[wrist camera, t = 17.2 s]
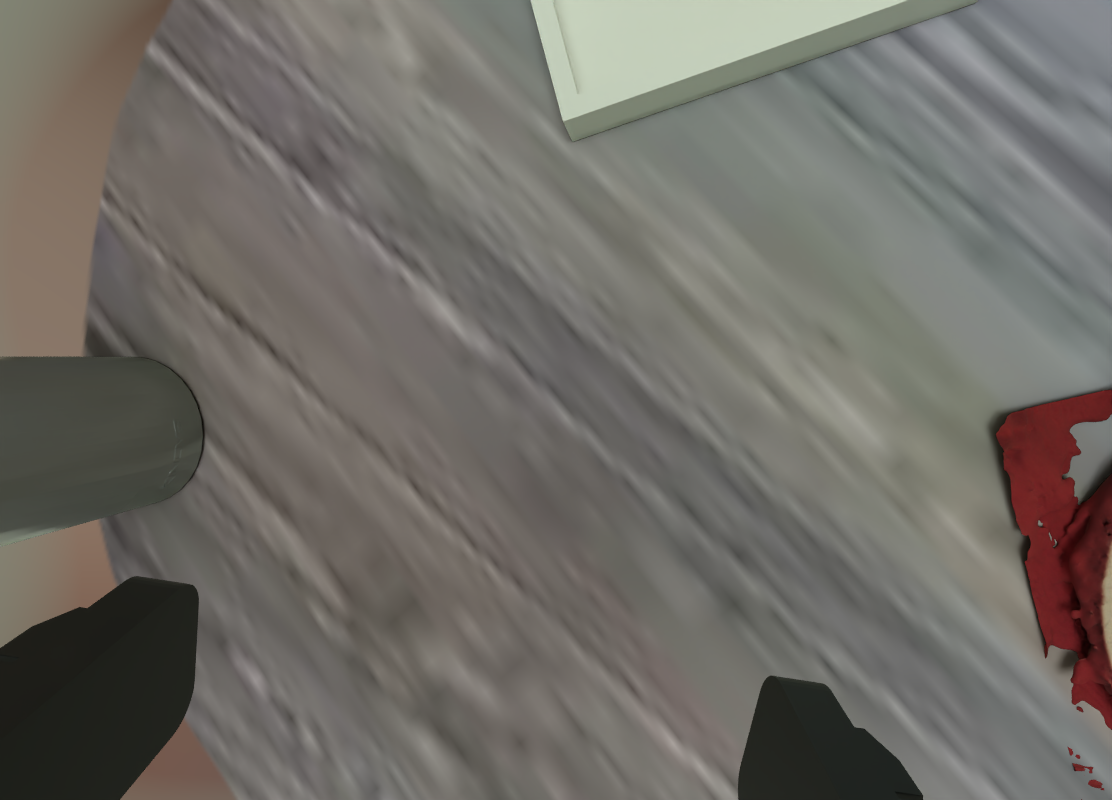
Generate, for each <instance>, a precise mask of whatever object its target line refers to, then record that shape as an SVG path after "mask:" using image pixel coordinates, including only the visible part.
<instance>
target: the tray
mask: <svg viewBox="0 0 1112 800" xmlns="http://www.w3.org/2000/svg"><path fill="white" fill-rule="evenodd" d="M977 1H978V0H531V4H532V8H533V11H534V15H535V19H536V22H537V26H538V30H539V34H540V37H541V41H542V45H543V49H544V52H545V56H546V60H547V63H548V67H549V71H550V75H551V78H552V82H553V86H554V89H555V93H556V97H557V101H558V104H559V108H560V112H561V116H562V119H563V122H564V125H565V127H566V129H567V131H568V133H569V136H570V138H571V140H572V142H574V141H577V140H580V139H583V138H586V137H588V136H591V135H594V134H597V133H600V132H603V131H606V130H609V129H612V128H615V127H617V126H620V125H623V124H626V123H629V122H632V121H635V120H638V119H641V118H644V117H646V116H649V115H652V114H655V113H658V112H661V111H664V110H667V109H670V108H673V107H675V106H678V105H681V104H684V103H687V102H690V101H693V100H696V99H699V98H702V97H704V96H707V95H710V94H713V93H716V92H719V91H722V90H725V89H728V88H731V87H733V86H736V85H739V84H742V83H745V82H748V81H751V80H754V79H757V78H760V77H762V76H765V75H768V74H771V73H774V72H777V71H780V70H783V69H786V68H789V67H791V66H794V65H797V64H800V63H803V62H806V61H809V60H812V59H815V58H818V57H820V56H823V55H826V54H829V53H832V52H835V51H838V50H841V49H844V48H847V47H849V46H852V45H855V44H858V43H861V42H864V41H867V40H870V39H873V38H876V37H878V36H881V35H884V34H887V33H890V32H893V31H896V30H899V29H902V28H905V27H907V26H910V25H913V24H916V23H919V22H922V21H925V20H928V19H931V18H934V17H936V16H939V15H942V14H945V13H948V12H951V11H954V10H957V9H960V8H963V7H965V6H968V5H971V4H974V3H976V2H977Z"/></svg>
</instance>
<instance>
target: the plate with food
mask: <svg viewBox="0 0 1112 800" xmlns="http://www.w3.org/2000/svg"><path fill="white" fill-rule="evenodd" d="M1111 414H1112V390H1104V391H1100V392H1096V393H1091V394H1087V395H1082V396H1078V397H1074V398H1070V399H1066V400H1061V401H1056V402H1052V403H1047V404H1043V405H1039V406H1035V407H1031V408H1027V409H1025V410H1022V411H1017V412H1013V413H1011V414H1010V415H1008V416H1007V418H1006V421H1005V424H1003V425H1002V426H1001V427H1000V429H999V431H998V432H997V433H996V436H997V439H998V441H999V444H1000V445H1001V447H1002V448H1003V450H1004V453H1003V456H1004V458H1003V460H1004V470H1005V471H1006V472H1007V473H1008V474H1009V477H1010V480H1011V493H1012V498H1011V501H1012V505H1013V508H1014V511H1015V514H1016V521H1017V523H1018V525H1019V528H1020V530H1021V532H1022V534H1023V535H1025V536H1027V535H1029V538H1030V541H1031V546H1030V549H1029V551H1028V559H1027V561H1025V565H1026V568H1027V571H1028V577H1029V579H1030V586H1031V591H1032V595H1033V600H1034V602H1035V607H1036V610H1037V613H1038V620H1039V623H1040V626H1041V629H1042V632H1043V635H1044V637H1045V640H1046V644H1045V646H1044V650H1045V659H1046V657H1047V654H1048V648H1049V646H1050V645H1054V646H1056V647H1058V648H1061V649H1068V650H1073V651H1075V652H1077V654H1078V657H1079V659H1080V660H1078V661H1077V662H1076V663H1075V665H1074V669H1073V676H1072V678H1071V682H1072V683H1073V684H1074V685H1073V688H1072V703H1073V704H1074V705H1076V704H1077V703H1079V702H1080V701H1085V702H1087V703H1088V704H1090V705H1091V706H1093V707H1094V708H1096V709H1097V710H1099V711H1100V712H1101V714H1102V715H1103V717H1104V719H1105V723H1106V725H1107V726H1108V727H1109V728H1110V729H1111V730H1112V473H1111V475H1110V476H1109V477H1108V478H1107V479H1106V480H1105V481H1104V482H1103V483H1102V484H1101V485H1100V487H1099V488H1098V490H1097V491H1096V492H1095V493H1094V494H1093V496H1091V498H1090V499H1088V500H1087V501H1085V502H1082V503H1081V505H1078V504H1077V503H1078V498H1077V497H1074V485H1075V481H1074V480H1073V479H1072V478H1071V477H1068V478H1066V479H1062V475H1063V474H1066V473H1067V472H1068V471H1069V469H1070V461H1071V458H1072V457H1073V456H1076V455H1080V454H1081V451H1080V449H1079V448H1078V447H1077V446H1076V439H1074V437H1073V435H1072V434H1071V433H1070V428H1071V427H1072V426H1073V425H1075V424H1077V423H1081V422H1099V421H1103V420H1107V419H1108V418H1109V417H1110V415H1111ZM1038 520H1040V521H1041V523H1043V525H1042V526H1043V527H1039V526H1038ZM1049 532H1050V534H1051V536H1052V541H1051V540H1050V537H1049ZM1054 539H1056V541H1057V544H1058V545H1057V546H1056V547H1055V548H1053V546H1054V545H1055V541H1054ZM1077 710H1079V711H1081V712H1083V709H1082V708H1081V707H1077ZM1068 749H1069V752H1070V755H1072V754H1073V751H1072V749H1070V748H1069V747H1068ZM1076 757H1077V758H1078V759H1080V756H1079V755H1076ZM1072 764H1073V763H1072ZM1073 766H1074V767H1075V769H1076V770H1074V771H1085V769H1084V768H1088V769H1089V770H1090V771H1089V773H1092V769H1093V767H1085V766H1082V765H1078V764H1073ZM1088 784H1089V785H1090V786H1092V787H1095V788H1101V790H1104V788H1102V787H1101V785H1102V783H1101V782H1098V781H1097V780H1090V781H1089V783H1088ZM1081 800H1082V799H1081Z"/></svg>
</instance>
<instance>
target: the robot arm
mask: <svg viewBox="0 0 1112 800" xmlns="http://www.w3.org/2000/svg"><path fill="white" fill-rule="evenodd" d="M202 439H203V432H202V422H201V417H200V414H199V410H198V407H197V404H196V402H195V400H194V398H193V396H192V394H191V392H190V390H189V389H188V387H187V386H186V385H185V384H184V382H183V381H182V380H181V378H180V377H178V376H177V375H176V374H175V373H174V372H173V371H171V370H170V369H169V368H167V367H166V366H164V365H162V364H160V363H158V362H157V361H153V360H150V359H146V358H143V357H0V547H1V546H5V545H8V544H12V543H15V542H19V541H22V540H26V539H30V538H33V537H36V536H40V535H44V534H47V533H51V532H54V531H57V530H61V529H65V528H68V527H72V526H75V525H79V524H83V523H86V522H90V521H93V520H97V519H100V518H104V517H108V516H111V515H115V514H118V513H122V512H125V511H129V510H132V509H136V508H139V507H143V506H146V505H150V504H153V503H157V502H159V501H162V500H164V499H167V498H169V497H171V496H172V495H174V494H175V493H176V492H178V491H179V490H181V489H182V487H183V486H184V485H185V484H186V483H187V482H188V481H189V479H190V478H191V476H192V474H193V472H194V471H195V469H196V467H197V464H198V461H199V458H200V454H201V450H202ZM198 606H199V598H198V592H197V589H196V588H195V587H194V586H193V585H190V584H185V583H178V582H172V581H165V580H159V579H152V578H146V577H139V576H135V577H132V578H129V579H128V580H126V581H124V582H123V583H122V584H120V585H119V586H117V587H116V588H115V589H113V590H112V591H111V592H109V593H108V594H106V595H105V596H104V597H103V598H101V599H100V600H98V601H97V602H95V603H94V604H93V605H91V606H90V607H88V608H81V607H79V608H77V609H74V610H72V611H69V612H67V613H64V614H62V615H59V616H57V617H54V618H52V619H49V620H47V621H45V622H42V623H40V624H37V625H35V626H32V627H31V628H29V629H28V630H26V631H25V632H23V633H22V634H20V635H19V636H17V637H16V638H14V639H13V640H12V641H10V642H9V643H7V644H6V645H4V646H3V647H1V648H0V800H120V799H121V798H122V796H123V795H124V794H125V793H126V792H127V790H128V789H129V788H130V787H131V785H132V784H133V783H134V782H135V781H136V779H137V778H138V777H139V776H140V775H141V773H142V772H143V771H144V770H145V768H146V767H147V766H148V765H149V764H150V763H151V761H152V760H153V759H154V757H155V756H156V755H157V754H158V753H159V752H160V750H161V749H162V748H163V747H164V746H165V744H166V743H167V742H168V741H169V740H170V738H171V737H172V736H173V734H174V733H175V732H176V730H177V729H178V727H179V725H180V724H181V722H182V720H183V718H184V716H185V714H186V712H187V709H188V707H189V704H190V701H191V698H192V694H193V689H194V681H195V663H196V644H197V625H198ZM738 799H739V800H923V795H922V793H921V792H920V790H919V789H918V787H917V786H916V784H915V783H914V781H913V780H912V778H911V777H910V776H909V774H908V773H907V771H906V770H905V768H904V767H903V765H902V764H901V762H900V761H899V760H898V759H897V758H896V757H895V756H894V755H893V754H892V753H891V752H889V751H888V750H887V749H886V748H885V747H884V746H883V745H882V744H881V743H879V742H878V741H877V740H876V739H875V738H874V737H873V736H872V735H871V734H870V733H868V732H867V731H866V730H865V729H862V728H855V727H854V726H853V725H852V723H851V721H850V720H849V718H848V717H847V715H846V713H845V712H844V710H843V709H842V707H841V706H840V704H839V702H838V701H837V699H836V698H835V696H834V694H833V693H832V691H831V690H830V689H829V687H827V686H826V685H825V684H822V683H816V682H809V681H803V680H796V679H790V678H783V677H777V676H769V677H767V678H766V680H765V681H764V683H763V685H762V687H761V691H760V694H759V698H758V702H757V705H756V709H755V713H754V717H753V721H752V724H751V728H750V732H749V736H748V740H747V743H746V747H745V751H744V755H743V758H742V762H741V766H740V771H739V780H738Z"/></svg>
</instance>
